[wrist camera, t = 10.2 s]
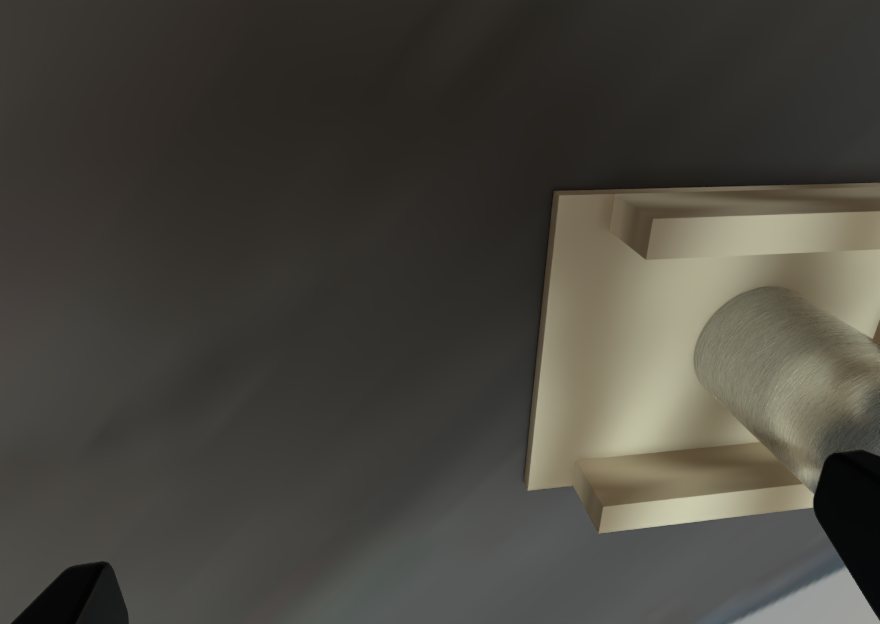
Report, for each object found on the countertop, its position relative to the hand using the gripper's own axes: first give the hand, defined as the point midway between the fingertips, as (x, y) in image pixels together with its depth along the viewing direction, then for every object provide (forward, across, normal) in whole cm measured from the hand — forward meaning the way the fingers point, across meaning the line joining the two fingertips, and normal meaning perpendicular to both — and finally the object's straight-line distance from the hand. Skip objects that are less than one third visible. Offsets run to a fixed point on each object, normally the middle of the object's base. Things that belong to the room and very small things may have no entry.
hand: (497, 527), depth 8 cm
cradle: (+13, -13, +6) cm, 19 cm away
